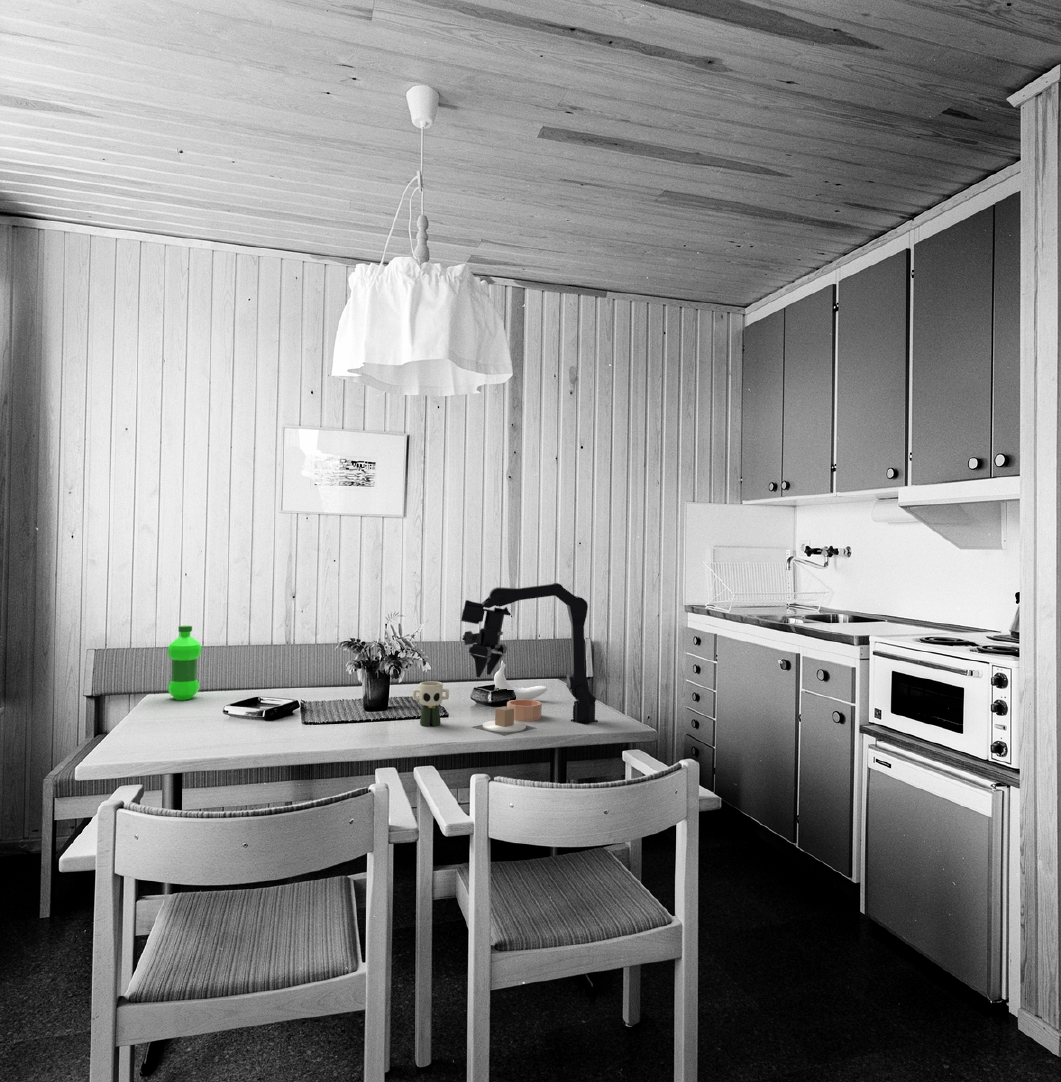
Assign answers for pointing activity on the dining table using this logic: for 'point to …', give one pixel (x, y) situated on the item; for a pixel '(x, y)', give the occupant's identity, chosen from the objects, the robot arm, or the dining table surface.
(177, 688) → the plastic bottle
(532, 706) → the faceted tan prism
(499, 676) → the banana
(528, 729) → the mat
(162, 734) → the dining table surface
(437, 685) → the character mug
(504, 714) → the lid
